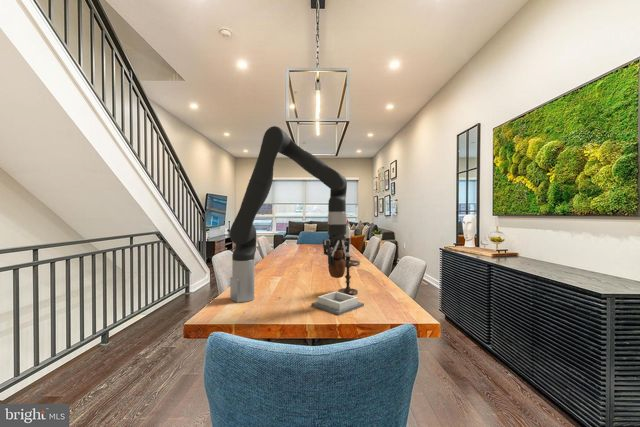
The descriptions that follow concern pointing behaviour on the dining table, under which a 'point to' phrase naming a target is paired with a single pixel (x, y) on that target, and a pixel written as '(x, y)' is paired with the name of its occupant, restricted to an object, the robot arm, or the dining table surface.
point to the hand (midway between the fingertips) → (336, 264)
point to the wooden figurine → (337, 264)
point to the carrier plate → (337, 303)
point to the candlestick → (348, 264)
